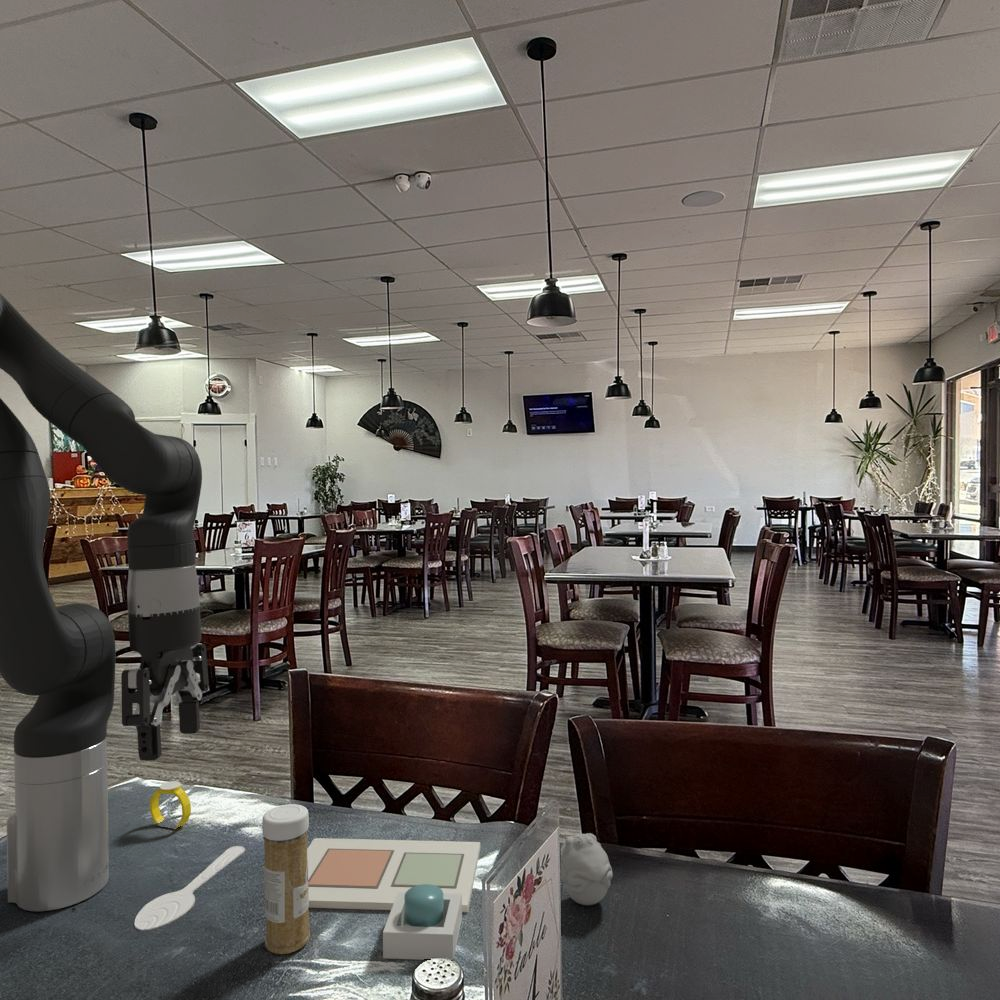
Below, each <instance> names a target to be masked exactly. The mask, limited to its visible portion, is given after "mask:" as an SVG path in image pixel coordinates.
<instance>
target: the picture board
mask: <svg viewBox="0 0 1000 1000" xmlns="http://www.w3.org/2000/svg"><path fill="white" fill-rule="evenodd" d="M480 853H481V842H480V841H450V840H449V841H448V840H443V841H442V840H415V839H414V840H410V839H409V840H408V839H407V840H406V839H370V838H369V839H368V838H367V839H366V838H365V839H364V838H363V839H361V838H323V837H322V838H320V837H319V838H318V837H316V838H314V839H312V841H311V843H310V844H309V846H307V860H308V889H309V907H308V909H311V908H313V909H314V908H315V909H337V910H338V909H342V910H343V909H345V910H373V911H375V910H376V911H377V910H379V911H391V910H392V907H393V904H394V902H395V899H396V896H397V894H398V892H407V891H408V890H409V889H410V888H412V887H414V886H417V885H422V884H430V885H435V886H437V887H439V888H441V890H442V891H443V893H444V894H462V913H468V912H469V909H470V908H469V907H470V905H471V904H470V903H471V898H472V892H473V889H474V888H473V887H474V882H475V878H476V872H477V868H478V864H479V863H478V862H479V857H480Z"/></svg>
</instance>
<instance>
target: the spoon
mask: <svg viewBox="0 0 1000 1000" xmlns="http://www.w3.org/2000/svg"><path fill="white" fill-rule="evenodd" d="M245 851H246V848H245V846H243V845H235V846H230V847H229V848H227V849H226V850H225V851H223V853H222V854H221V855H219V856H218V857H217V858H216V859H215V860H214V861H212V863H211V864H209V865H208V866H206V868H205V870H203V871H201V873H199V874H198V876H196V877H194V879H192V881H191V882H189V883H188V884H187V885H186V886H185V887H184V888H182V889H179V890H176V891H173V892H168V893H165V894H162V895H160V896H158V897H154V899H152V900H151V901H149V902H147V904H144V906H142V908H140V910H139V911H138V912H137V915H136V916H135V918H134V924H133V925H134V928H135V929H136V930H138V931H150V930H155V929H159V928H160V927H164V926H166V925H168V924H170V923H172V922H174V921H177V919H179V918H181V917H182V916H184V915H185V914H187V913H188V912H189V911H190V910H191V909H192V908H193V907H194V905H195V902H196V896H195V894H194V892H195V891H196V890H197V889H198V888H199V887H201V886H202V885H203V884H204V883H206V882H207V881H209V880H210V879H211V878H213V877H214V876H216V875H217V874H218V873H219V872H220V871H222V870H223V869H224V868H225V867H227V866H228V865H229V864H230V863H232V862H233V861H235V860H236V859H237V858H239V856H241V855H242V854H244V852H245Z"/></svg>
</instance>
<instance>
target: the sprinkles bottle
mask: <svg viewBox="0 0 1000 1000" xmlns="http://www.w3.org/2000/svg"><path fill="white" fill-rule="evenodd" d="M309 819H310V818H309V810H308V809H307V807H306V806H304V805H301V804H295V803H292V804H290V803H288V804H282V805H278V806H275V807H272V808H271V809H269V810H267V811H266V812H265V813H264V814H263V815H262V820H261V822H262V826H261V827H262V829H261V830H262V831H261V832H262V836H263V837H262V838H263V840H264V844H263V845H264V863H263V864H264V865H263V873H264V874H263V875H264V876H263V877H264V879H263V880H264V881H263V882H264V883H263V884H264V885H263V886H264V913H265V914H264V915H265V931H266V932H265V933H266V935H265V939H264V946H265V948H266V949H267V951H269V952H271V953H273V954H276V955H286V954H292V953H294V952H297V951H298V950H300V949H302V948H303V947H304V946H306V945H307V944H308V942H309V940H310V936H311V930H310V924H309V922H310V921H309V917H310V916H309V908H308V907H309V889H308V860H307V848H308V831H309V830H308V829H309V827H310V826H309V825H310V823H309V821H310V820H309Z"/></svg>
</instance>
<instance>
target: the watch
mask: <svg viewBox="0 0 1000 1000" xmlns="http://www.w3.org/2000/svg"><path fill="white" fill-rule="evenodd" d="M162 794H163V795H170V794H173V795H174V796H175V797H176V798H177V799H178V801H179V803H180V805H181V814H182V815H181V817H180V821H179V822H178V823H179V824H178V825H177V826H176V827H177V828H178V827H180V826H181V827H183V826H184V825H185V824H186V823H187V822H188V821H189V819H190V816H191V812H192V807H191V801H190V798H189V796H188V795H187V792H186V791H185V790H184V789H182V783H181V782H180V781H175V780H171V781H167V782H166V781H165V782H164V783H162V784H160V785H159V789H157V790H156V791H154V792H153V794H152V796H151V797H150V800H149V812H150V815H151V818H152V821H153V823H154V824H156V823H160V822H162V821H163V820H164V819H165V818H164V816H163V815H162V813H161V809H160V805H159V803H160V796H161V795H162ZM183 824H184V825H183ZM182 825H183V826H182ZM181 827H180V828H181ZM178 829H179V828H178Z"/></svg>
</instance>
